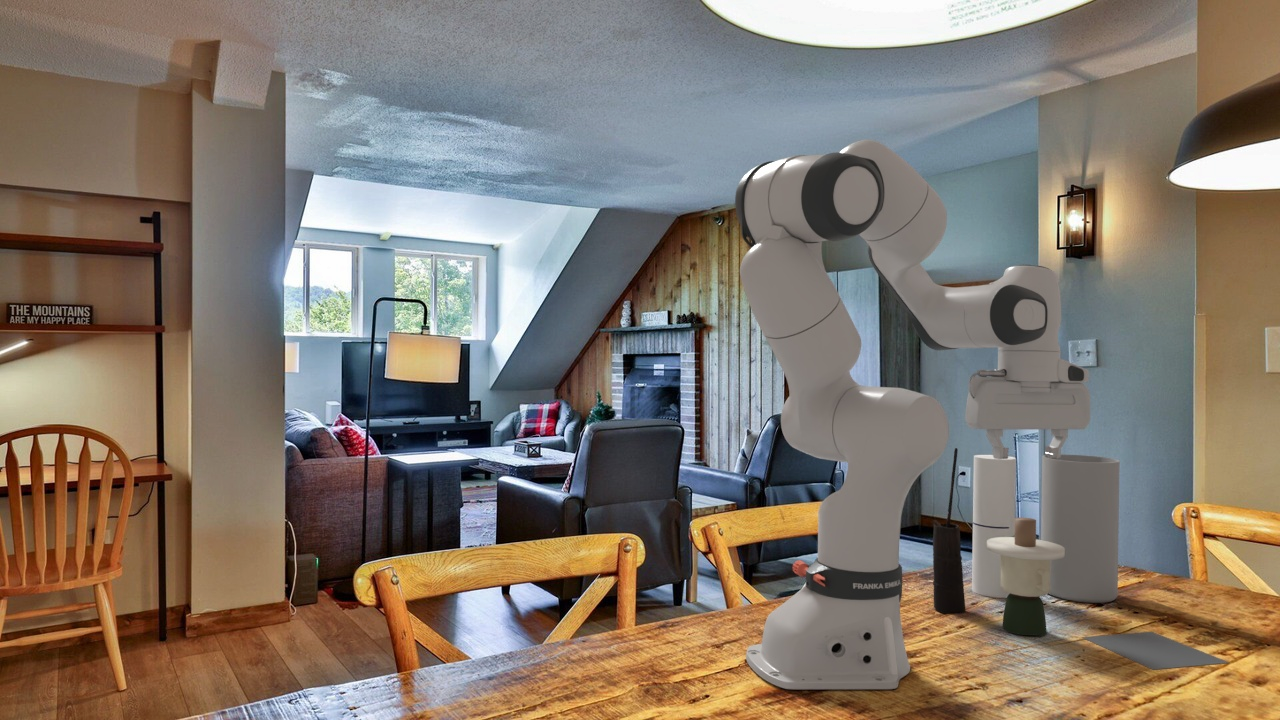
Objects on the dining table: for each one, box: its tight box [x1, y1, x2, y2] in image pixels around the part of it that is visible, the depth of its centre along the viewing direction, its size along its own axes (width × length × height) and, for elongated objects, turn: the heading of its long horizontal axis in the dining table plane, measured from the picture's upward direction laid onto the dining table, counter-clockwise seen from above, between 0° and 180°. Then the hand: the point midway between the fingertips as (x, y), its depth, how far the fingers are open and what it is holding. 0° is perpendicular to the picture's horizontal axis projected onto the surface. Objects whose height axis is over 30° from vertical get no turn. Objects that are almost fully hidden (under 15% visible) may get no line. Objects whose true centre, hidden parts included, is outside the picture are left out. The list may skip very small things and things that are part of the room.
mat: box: [1080, 631, 1230, 671], centre depth 118 cm, size 13×13×1 cm
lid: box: [987, 516, 1065, 560], centre depth 126 cm, size 11×11×5 cm
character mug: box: [1000, 555, 1051, 637], centre depth 126 cm, size 11×7×13 cm, turn 10°
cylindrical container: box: [971, 454, 1017, 599], centre depth 149 cm, size 7×7×25 cm
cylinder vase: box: [1040, 453, 1121, 604], centre depth 148 cm, size 12×12×25 cm
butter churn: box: [931, 447, 967, 615], centre depth 139 cm, size 9×10×28 cm
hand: (1026, 458), depth 126 cm, fingers open, 8 cm apart
